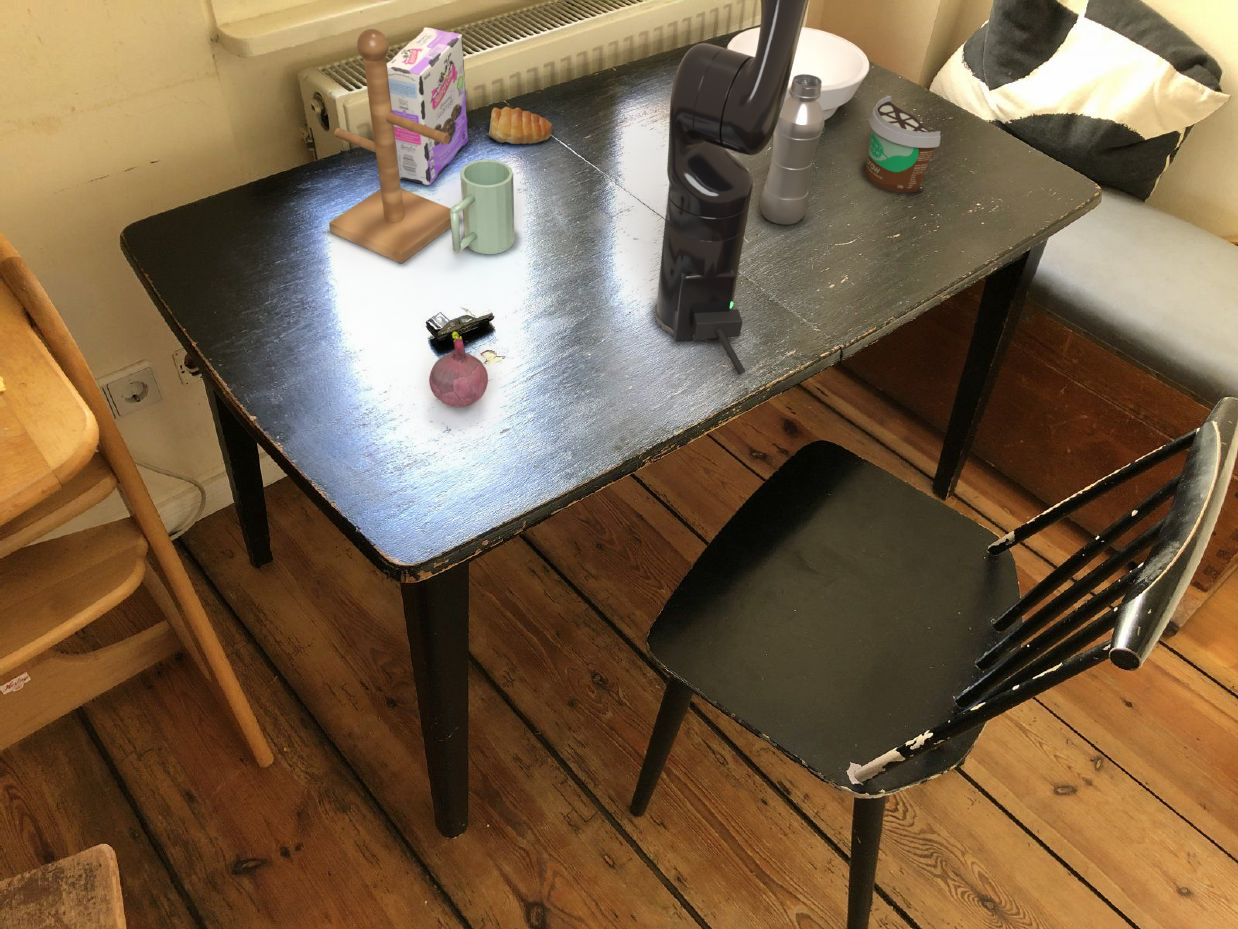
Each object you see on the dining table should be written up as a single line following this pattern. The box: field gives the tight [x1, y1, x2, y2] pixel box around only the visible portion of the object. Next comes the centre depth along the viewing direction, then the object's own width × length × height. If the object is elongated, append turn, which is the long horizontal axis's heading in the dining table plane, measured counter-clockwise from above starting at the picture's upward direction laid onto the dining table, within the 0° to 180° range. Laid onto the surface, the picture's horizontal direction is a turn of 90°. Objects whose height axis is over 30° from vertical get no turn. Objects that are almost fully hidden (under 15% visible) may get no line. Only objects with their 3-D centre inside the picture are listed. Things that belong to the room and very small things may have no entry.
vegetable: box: [428, 331, 489, 408], centre depth 108 cm, size 6×6×10 cm
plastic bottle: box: [759, 74, 825, 226], centre depth 134 cm, size 6×7×20 cm
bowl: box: [726, 26, 870, 121], centre depth 161 cm, size 22×22×8 cm
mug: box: [450, 158, 516, 255], centre depth 128 cm, size 11×6×10 cm, turn 149°
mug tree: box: [328, 28, 460, 264], centre depth 124 cm, size 18×12×26 cm, turn 59°
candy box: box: [386, 26, 470, 186], centre depth 140 cm, size 14×6×16 cm, turn 162°
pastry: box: [488, 106, 553, 145], centre depth 151 cm, size 9×7×4 cm
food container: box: [864, 94, 942, 193], centre depth 146 cm, size 12×6×10 cm, turn 27°
